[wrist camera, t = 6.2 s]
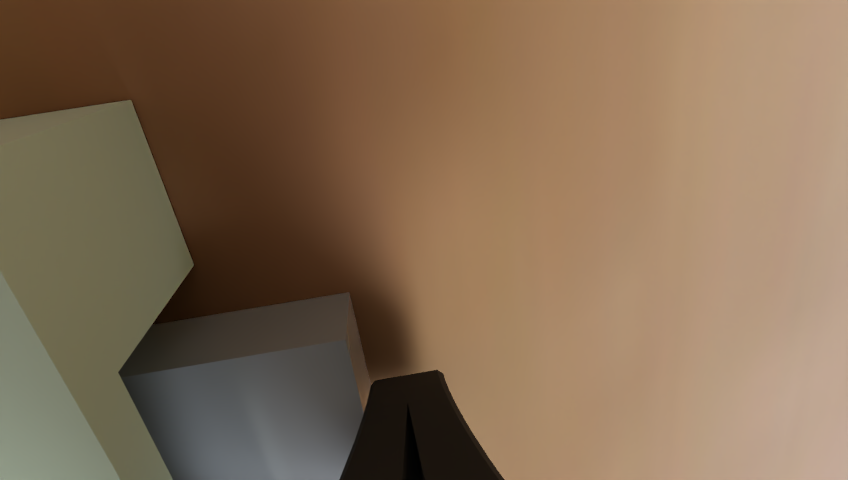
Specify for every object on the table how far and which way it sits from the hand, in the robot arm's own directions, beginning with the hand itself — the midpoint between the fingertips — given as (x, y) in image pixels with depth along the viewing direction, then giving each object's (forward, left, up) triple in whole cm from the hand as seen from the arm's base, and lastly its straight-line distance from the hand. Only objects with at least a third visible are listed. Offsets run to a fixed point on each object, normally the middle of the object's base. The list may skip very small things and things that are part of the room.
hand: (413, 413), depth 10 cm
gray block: (-4, +2, -2) cm, 5 cm away
